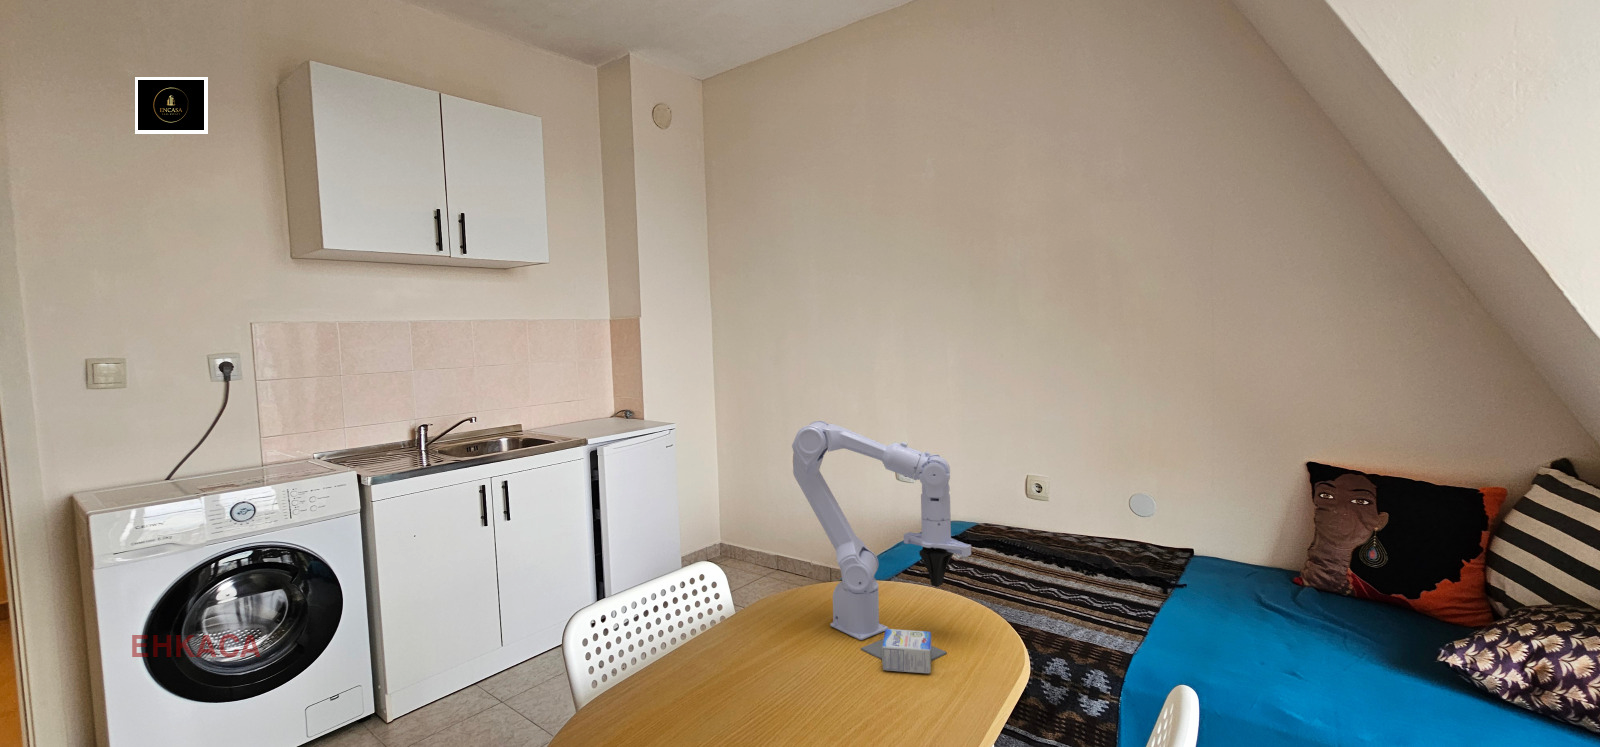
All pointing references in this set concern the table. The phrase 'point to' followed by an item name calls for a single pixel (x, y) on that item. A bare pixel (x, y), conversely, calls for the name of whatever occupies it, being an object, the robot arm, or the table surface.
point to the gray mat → (876, 650)
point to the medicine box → (906, 651)
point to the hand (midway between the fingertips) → (937, 584)
